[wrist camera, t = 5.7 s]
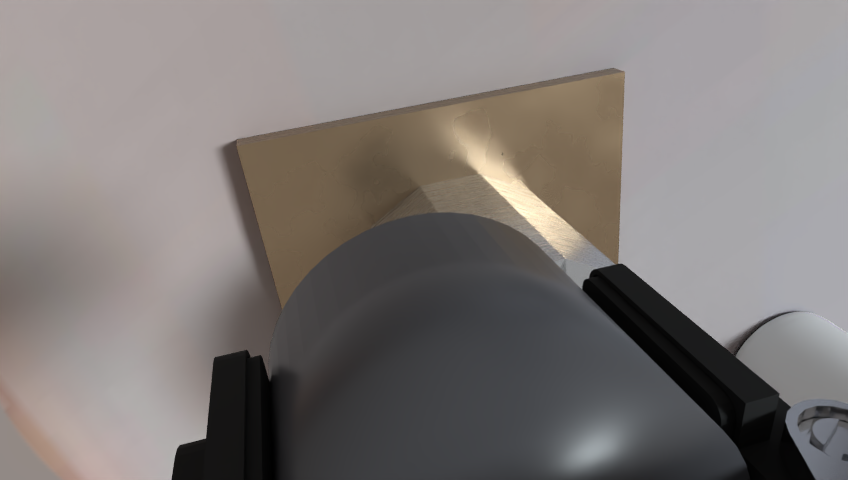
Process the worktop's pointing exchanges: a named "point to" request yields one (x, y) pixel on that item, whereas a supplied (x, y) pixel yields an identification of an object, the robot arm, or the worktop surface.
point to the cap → (471, 370)
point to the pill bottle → (800, 357)
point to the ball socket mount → (449, 173)
